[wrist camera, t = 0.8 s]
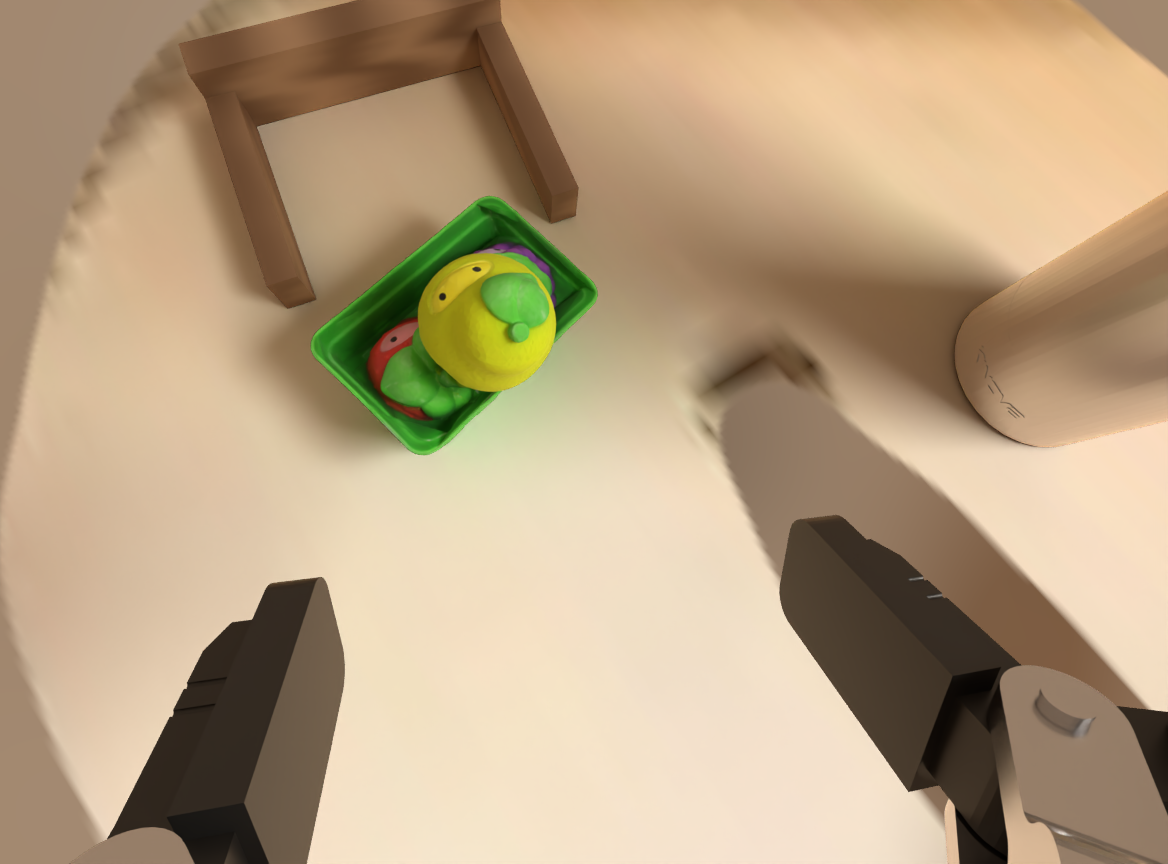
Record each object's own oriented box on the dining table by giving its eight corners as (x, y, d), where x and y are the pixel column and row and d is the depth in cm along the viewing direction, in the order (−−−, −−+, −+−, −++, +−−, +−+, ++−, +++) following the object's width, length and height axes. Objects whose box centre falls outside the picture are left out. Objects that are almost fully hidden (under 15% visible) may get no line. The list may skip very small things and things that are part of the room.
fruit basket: (496, 244, 33) (476, 79, 22) (611, 349, 32) (651, 232, 21) (339, 380, 30) (226, 271, 19) (459, 499, 29) (411, 455, 18)
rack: (492, 33, 36) (486, -32, 32) (575, 215, 33) (580, 168, 30) (220, 105, 33) (178, 43, 29) (288, 308, 31) (251, 270, 27)
